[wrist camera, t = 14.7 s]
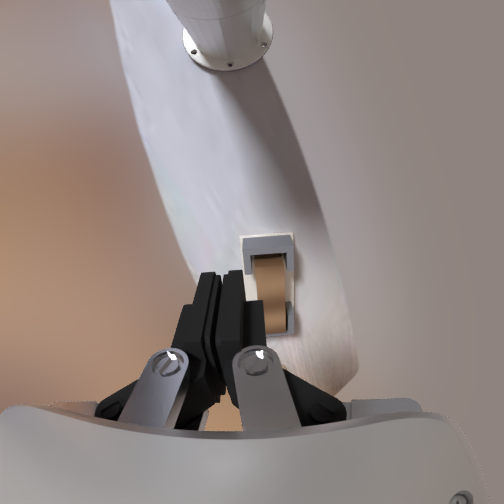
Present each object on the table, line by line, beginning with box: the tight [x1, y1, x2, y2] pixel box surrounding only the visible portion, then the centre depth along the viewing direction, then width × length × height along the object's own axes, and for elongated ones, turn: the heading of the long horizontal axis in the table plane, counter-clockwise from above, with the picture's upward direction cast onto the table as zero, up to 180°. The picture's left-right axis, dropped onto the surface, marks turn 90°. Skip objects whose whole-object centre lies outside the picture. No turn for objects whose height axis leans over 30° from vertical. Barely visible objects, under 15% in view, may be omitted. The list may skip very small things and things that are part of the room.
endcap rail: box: [239, 232, 294, 337], centre depth 43 cm, size 16×8×5 cm, turn 5°
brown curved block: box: [254, 253, 286, 334], centre depth 42 cm, size 12×4×5 cm, turn 5°
